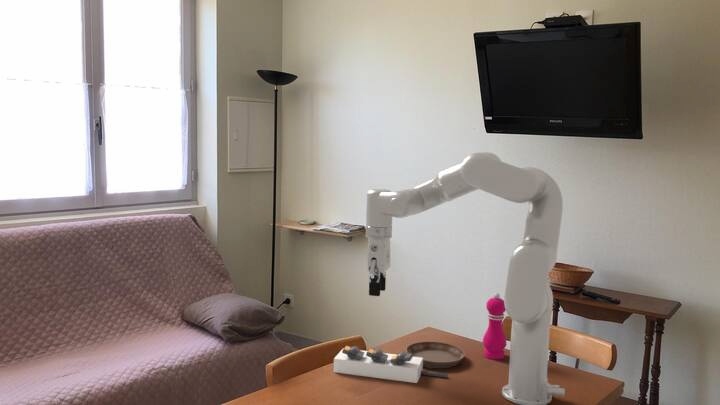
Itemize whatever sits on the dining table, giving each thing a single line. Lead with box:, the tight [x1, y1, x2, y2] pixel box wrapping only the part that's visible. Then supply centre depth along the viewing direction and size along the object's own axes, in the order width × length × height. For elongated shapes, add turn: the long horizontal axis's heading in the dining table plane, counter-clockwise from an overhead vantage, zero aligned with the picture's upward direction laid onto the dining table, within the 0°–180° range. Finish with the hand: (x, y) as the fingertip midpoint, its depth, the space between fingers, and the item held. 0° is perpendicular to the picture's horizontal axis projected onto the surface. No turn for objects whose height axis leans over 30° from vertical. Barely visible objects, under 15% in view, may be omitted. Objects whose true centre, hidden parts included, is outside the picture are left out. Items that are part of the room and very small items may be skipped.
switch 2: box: [390, 351, 413, 365], centre depth 171 cm, size 6×4×3 cm, turn 74°
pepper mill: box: [482, 292, 507, 361], centre depth 189 cm, size 7×7×20 cm
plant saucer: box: [405, 341, 466, 369], centre depth 186 cm, size 18×18×3 cm
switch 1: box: [342, 345, 365, 360], centre depth 175 cm, size 6×4×3 cm, turn 75°
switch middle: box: [366, 347, 388, 363], centre depth 173 cm, size 6×4×3 cm, turn 75°
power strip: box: [333, 347, 449, 384], centre depth 174 cm, size 32×9×4 cm, turn 75°
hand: (377, 292), depth 179 cm, fingers open, 5 cm apart
